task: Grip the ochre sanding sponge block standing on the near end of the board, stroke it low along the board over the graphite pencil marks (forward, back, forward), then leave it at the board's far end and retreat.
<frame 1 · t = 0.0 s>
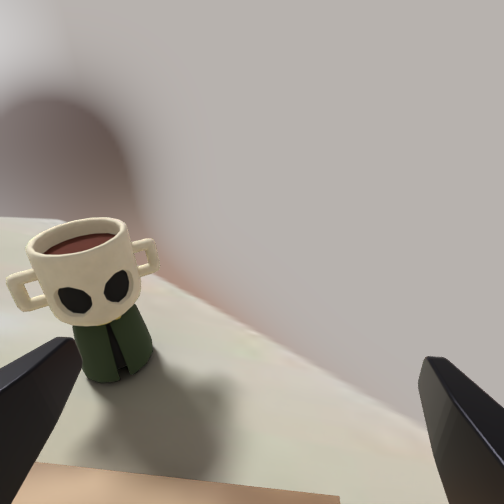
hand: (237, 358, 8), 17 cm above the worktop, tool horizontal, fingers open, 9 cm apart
character mug: (120, 361, 31), on the worktop
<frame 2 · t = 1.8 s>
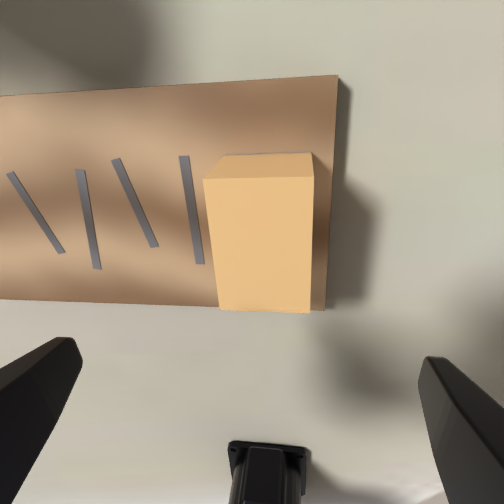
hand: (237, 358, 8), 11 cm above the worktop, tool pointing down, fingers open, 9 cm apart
board: (129, 207, 19), on the worktop
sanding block: (269, 213, 17), point 1 cm above the worktop, touching board
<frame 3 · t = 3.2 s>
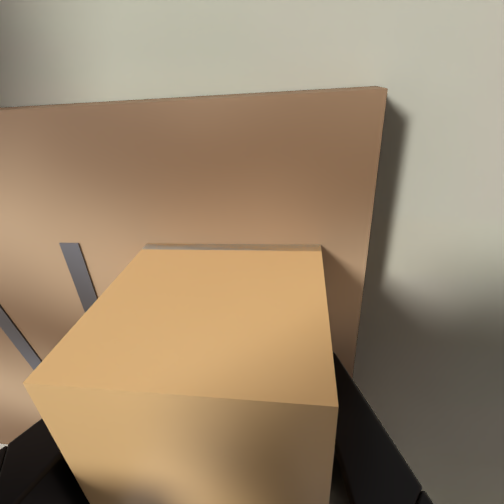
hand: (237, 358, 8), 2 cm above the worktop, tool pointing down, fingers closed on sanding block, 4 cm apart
board: (6, 309, 11), on the worktop
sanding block: (240, 343, 9), point 1 cm above the worktop, touching board, gripper
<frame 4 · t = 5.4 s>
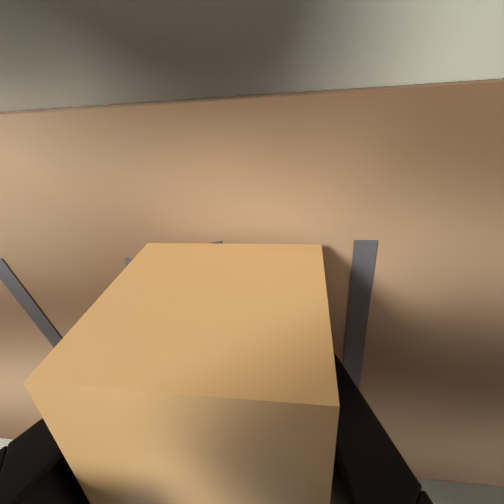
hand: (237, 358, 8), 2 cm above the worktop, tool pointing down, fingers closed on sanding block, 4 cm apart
board: (216, 313, 10), on the worktop
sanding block: (240, 343, 9), point 1 cm above the worktop, touching gripper
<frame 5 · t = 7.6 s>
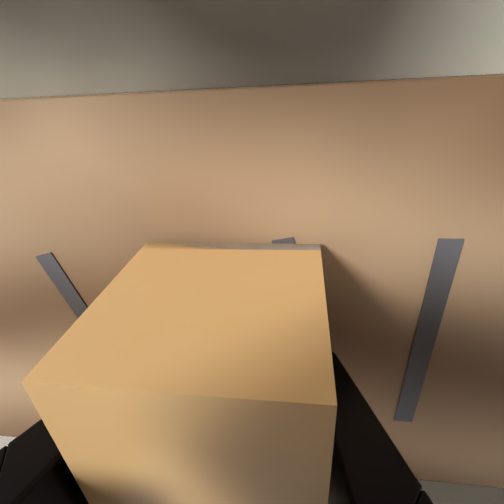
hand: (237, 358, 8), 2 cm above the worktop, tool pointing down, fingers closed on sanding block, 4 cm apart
board: (268, 312, 10), on the worktop
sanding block: (239, 342, 9), point 1 cm above the worktop, touching gripper
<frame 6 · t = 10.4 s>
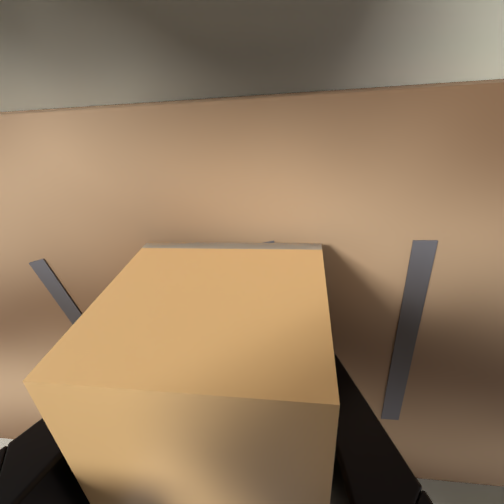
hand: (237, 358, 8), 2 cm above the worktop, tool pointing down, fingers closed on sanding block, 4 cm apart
board: (256, 314, 10), on the worktop
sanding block: (240, 342, 9), point 1 cm above the worktop, touching gripper
when the fingers open (2 cm above the worktop, at t = 12.3 s): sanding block stays where it is, resting on board.
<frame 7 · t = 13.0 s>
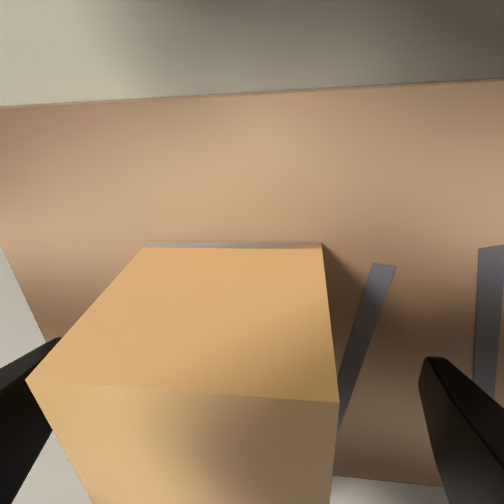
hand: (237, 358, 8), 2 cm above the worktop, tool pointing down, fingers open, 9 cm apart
board: (424, 323, 9), on the worktop
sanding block: (241, 341, 9), point 1 cm above the worktop, touching board
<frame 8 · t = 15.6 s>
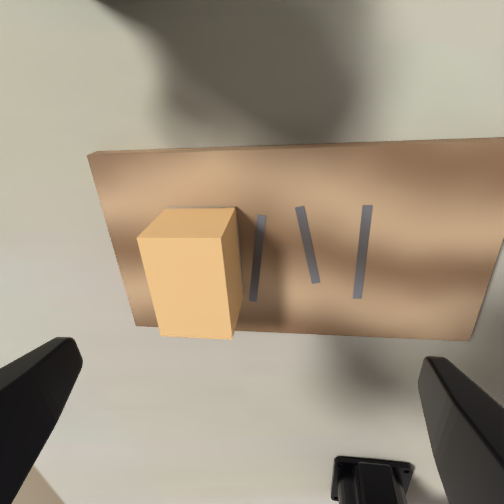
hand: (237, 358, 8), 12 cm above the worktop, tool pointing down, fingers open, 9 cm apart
board: (291, 246, 20), on the worktop
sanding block: (207, 253, 20), point 1 cm above the worktop, touching board
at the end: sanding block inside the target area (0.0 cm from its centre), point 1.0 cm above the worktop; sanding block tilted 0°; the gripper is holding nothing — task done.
